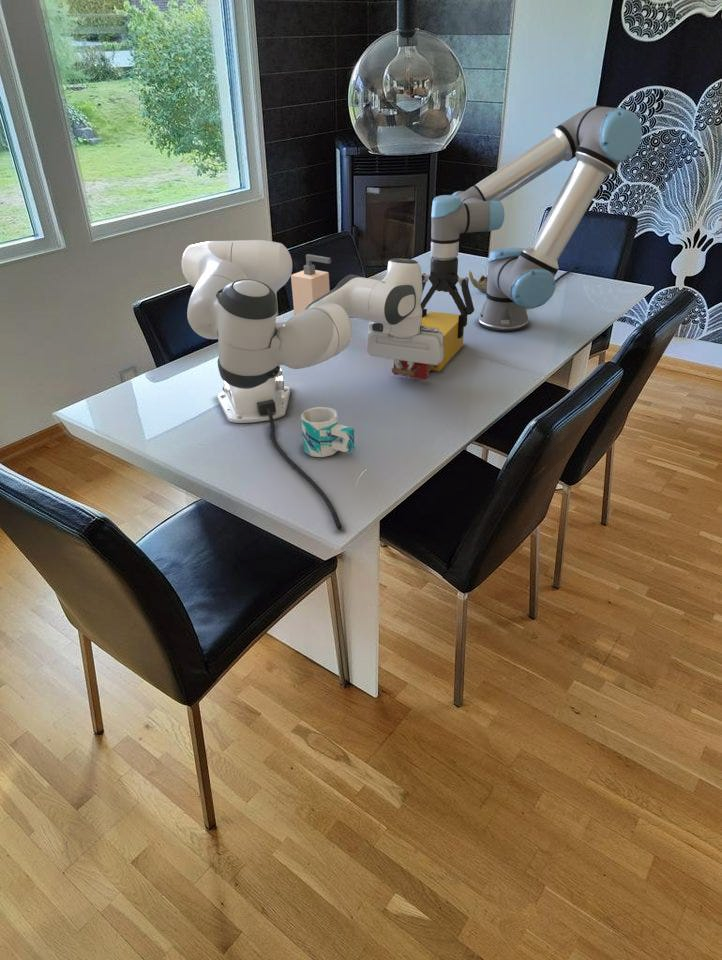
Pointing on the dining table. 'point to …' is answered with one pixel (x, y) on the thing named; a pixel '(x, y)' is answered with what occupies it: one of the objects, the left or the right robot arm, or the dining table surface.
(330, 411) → the mug
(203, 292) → the left robot arm
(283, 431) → the dining table surface
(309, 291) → the soap dispenser
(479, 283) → the jawbone
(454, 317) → the cabinet
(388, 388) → the dining table surface
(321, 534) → the dining table surface
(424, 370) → the drawer
